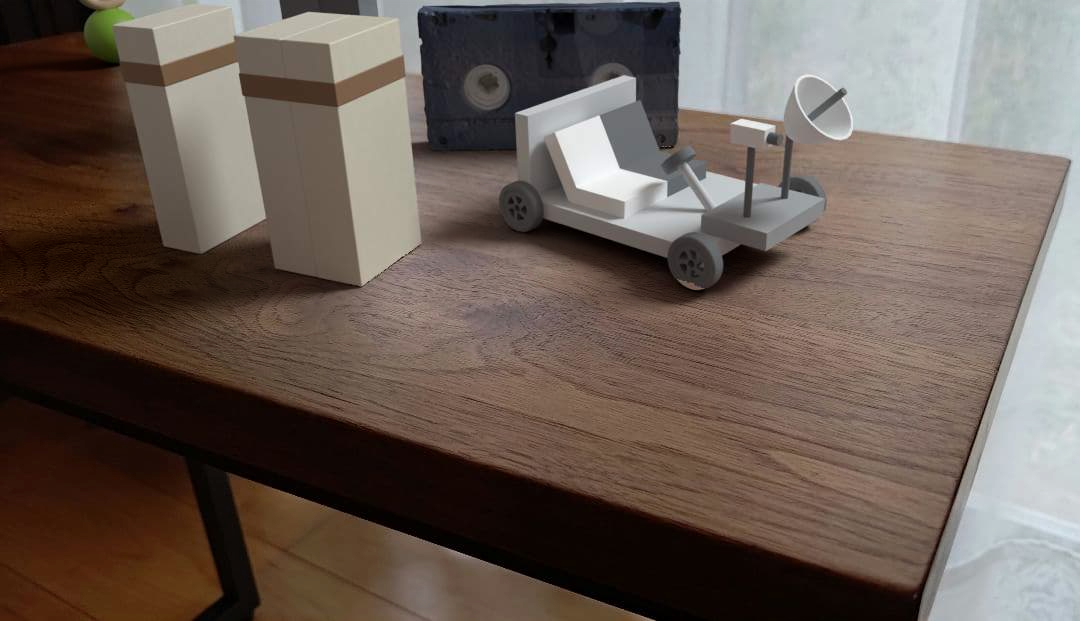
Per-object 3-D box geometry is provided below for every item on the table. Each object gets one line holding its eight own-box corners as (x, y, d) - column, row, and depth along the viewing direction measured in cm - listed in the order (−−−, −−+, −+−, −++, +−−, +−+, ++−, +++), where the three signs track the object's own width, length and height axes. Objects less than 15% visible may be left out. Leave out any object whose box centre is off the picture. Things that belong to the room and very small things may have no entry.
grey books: (299, 130, 79) (270, -57, 72) (318, 107, 84) (293, -68, 78) (373, 128, 78) (351, -59, 72) (388, 106, 84) (369, -70, 77)
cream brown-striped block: (273, 269, 56) (231, 35, 50) (338, 229, 61) (307, 11, 55) (361, 287, 53) (329, 44, 47) (423, 244, 58) (400, 17, 52)
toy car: (889, 67, 52) (772, 121, 45) (866, 239, 57) (758, 313, 49) (619, 25, 63) (489, 64, 56) (618, 172, 68) (499, 226, 60)
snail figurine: (71, 67, 100) (39, -59, 95) (128, 53, 105) (100, -68, 99) (101, 74, 97) (70, -56, 92) (158, 59, 102) (131, -65, 96)
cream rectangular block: (162, 246, 59) (109, 25, 53) (232, 210, 64) (192, 3, 58) (201, 255, 58) (152, 28, 52) (270, 217, 63) (232, 6, 57)
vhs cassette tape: (677, 137, 74) (681, -1, 69) (678, 150, 71) (682, 8, 67) (434, 138, 76) (422, 3, 71) (426, 150, 73) (413, 12, 69)
